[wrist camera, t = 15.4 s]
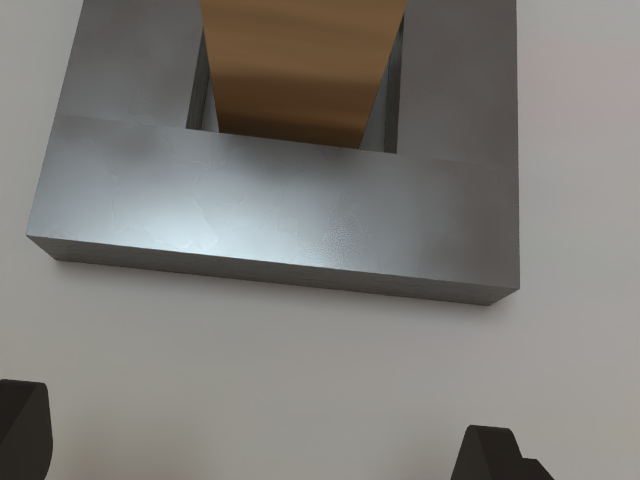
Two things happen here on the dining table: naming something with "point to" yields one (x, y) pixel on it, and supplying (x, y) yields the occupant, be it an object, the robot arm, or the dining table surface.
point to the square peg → (298, 66)
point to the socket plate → (289, 163)
